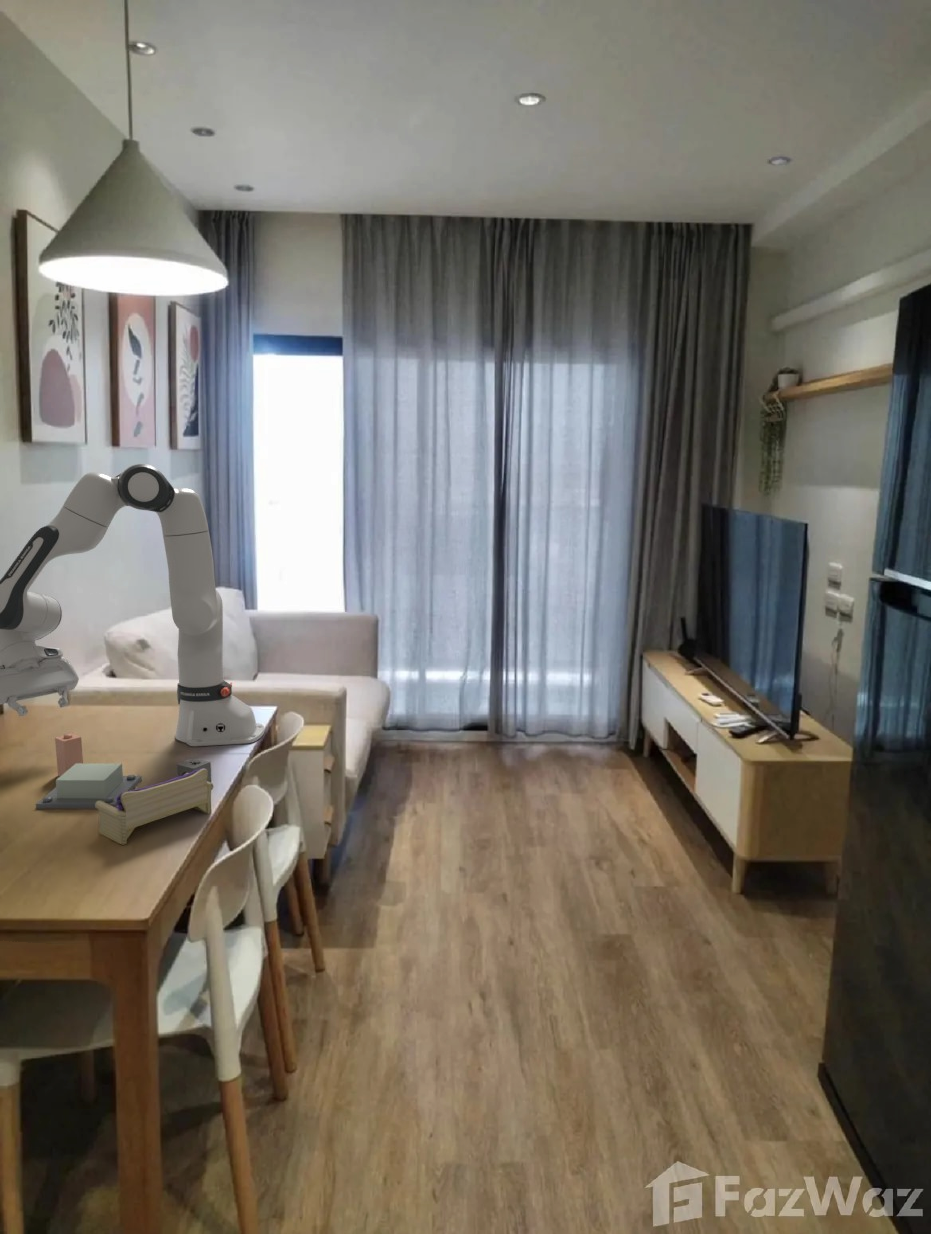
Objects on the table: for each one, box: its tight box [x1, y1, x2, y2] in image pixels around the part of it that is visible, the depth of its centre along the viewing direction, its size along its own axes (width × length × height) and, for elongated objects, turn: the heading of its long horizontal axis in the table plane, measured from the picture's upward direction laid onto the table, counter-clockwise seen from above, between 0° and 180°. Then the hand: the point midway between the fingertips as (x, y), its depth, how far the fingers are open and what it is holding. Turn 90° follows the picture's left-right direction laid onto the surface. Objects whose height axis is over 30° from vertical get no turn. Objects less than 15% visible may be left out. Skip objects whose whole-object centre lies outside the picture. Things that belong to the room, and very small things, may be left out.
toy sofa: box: [95, 768, 214, 846], centre depth 170 cm, size 21×9×10 cm, turn 142°
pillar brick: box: [54, 733, 84, 777], centre depth 194 cm, size 4×4×10 cm
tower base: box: [35, 762, 143, 810], centre depth 184 cm, size 16×16×5 cm
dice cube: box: [176, 757, 212, 783], centre depth 190 cm, size 5×5×5 cm
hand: (44, 710), depth 199 cm, fingers open, 8 cm apart
